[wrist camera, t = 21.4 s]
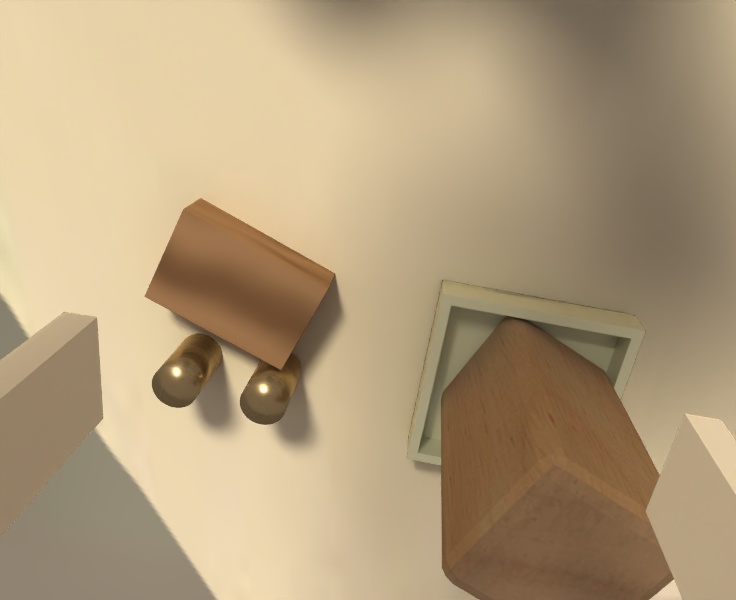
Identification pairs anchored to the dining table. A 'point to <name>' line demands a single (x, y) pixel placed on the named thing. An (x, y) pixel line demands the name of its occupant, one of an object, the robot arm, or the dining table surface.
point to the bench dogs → (197, 364)
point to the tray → (479, 319)
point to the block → (544, 477)
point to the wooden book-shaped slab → (238, 283)
